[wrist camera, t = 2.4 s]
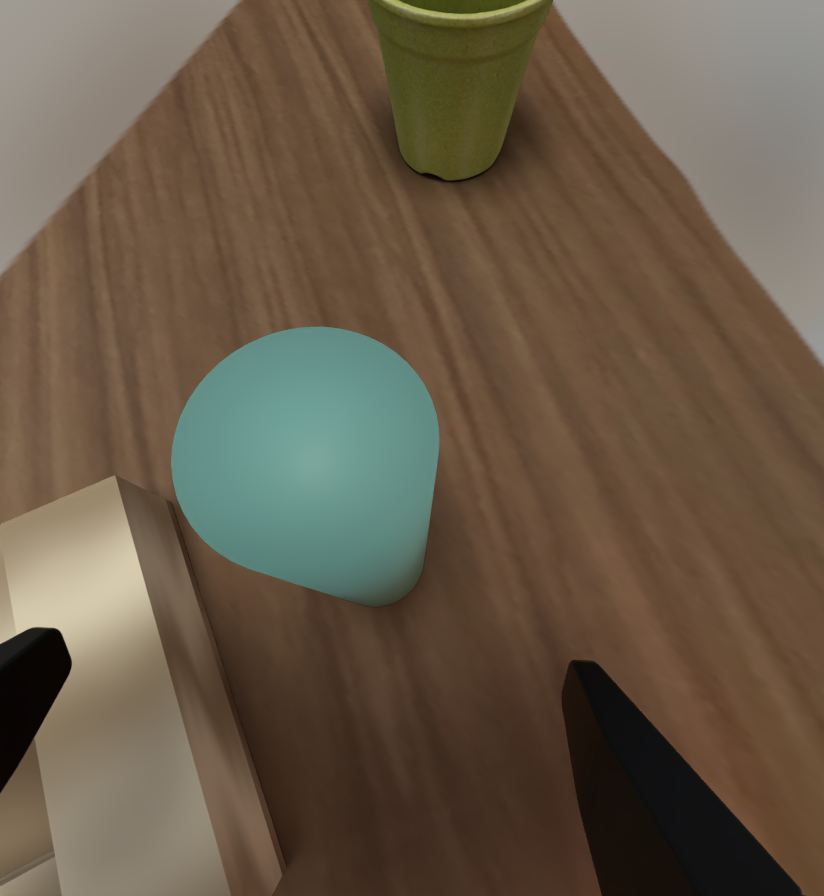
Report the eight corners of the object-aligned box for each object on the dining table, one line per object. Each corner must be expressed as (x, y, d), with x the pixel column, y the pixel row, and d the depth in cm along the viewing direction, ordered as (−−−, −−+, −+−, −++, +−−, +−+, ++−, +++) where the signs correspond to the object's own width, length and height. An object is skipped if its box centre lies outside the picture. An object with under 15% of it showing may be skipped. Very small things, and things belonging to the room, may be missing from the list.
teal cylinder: (441, 578, 19) (489, 497, 7) (351, 625, 18) (219, 630, 6) (398, 493, 20) (371, 293, 8) (313, 534, 19) (141, 386, 7)
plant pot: (411, 226, 25) (409, 40, 17) (346, 122, 28) (318, -78, 20) (556, 173, 27) (618, -23, 19) (479, 78, 30) (503, -125, 22)
